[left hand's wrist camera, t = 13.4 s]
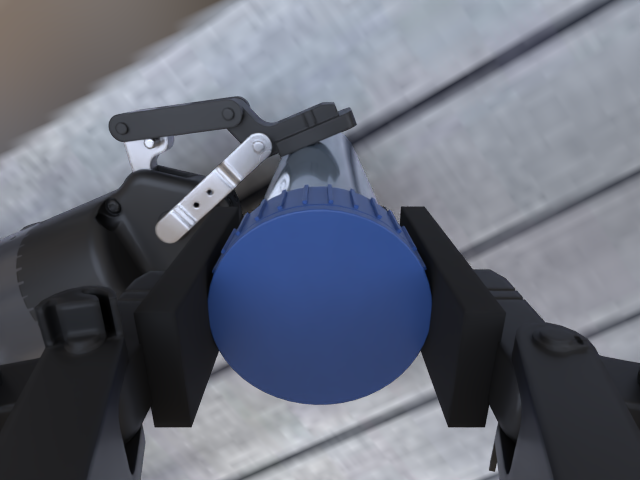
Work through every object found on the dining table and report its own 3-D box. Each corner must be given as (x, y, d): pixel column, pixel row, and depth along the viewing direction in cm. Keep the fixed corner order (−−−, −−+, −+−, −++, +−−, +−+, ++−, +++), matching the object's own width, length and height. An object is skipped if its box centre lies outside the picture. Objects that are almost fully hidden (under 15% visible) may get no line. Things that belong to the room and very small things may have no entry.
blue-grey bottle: (371, 156, 27) (452, 286, 10) (327, 212, 28) (336, 405, 12) (312, 109, 26) (298, 174, 9) (268, 170, 27) (191, 319, 11)
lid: (346, 140, 11) (352, 154, 9) (453, 299, 12) (477, 340, 10) (181, 256, 12) (154, 291, 10) (299, 387, 13) (295, 438, 11)
